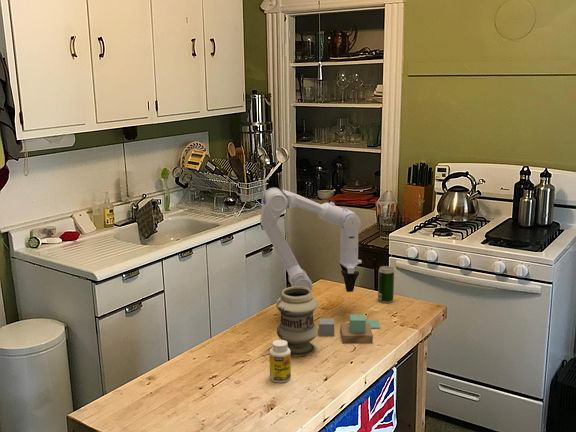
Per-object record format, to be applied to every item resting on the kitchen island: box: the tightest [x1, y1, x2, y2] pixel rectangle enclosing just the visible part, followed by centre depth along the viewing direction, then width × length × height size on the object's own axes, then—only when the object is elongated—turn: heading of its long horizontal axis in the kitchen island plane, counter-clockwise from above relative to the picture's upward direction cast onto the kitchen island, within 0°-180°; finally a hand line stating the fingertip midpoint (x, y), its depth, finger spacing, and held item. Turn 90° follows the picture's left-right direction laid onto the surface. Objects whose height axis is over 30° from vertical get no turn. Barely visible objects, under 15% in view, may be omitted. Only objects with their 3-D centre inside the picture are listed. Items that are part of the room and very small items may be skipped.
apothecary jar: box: [275, 286, 319, 357], centre depth 180 cm, size 12×12×18 cm
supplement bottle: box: [269, 339, 292, 383], centre depth 163 cm, size 6×6×10 cm
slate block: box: [318, 317, 335, 337], centre depth 192 cm, size 4×4×4 cm
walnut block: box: [339, 322, 374, 344], centre depth 189 cm, size 9×9×3 cm
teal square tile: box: [365, 319, 381, 330], centre depth 198 cm, size 6×6×1 cm
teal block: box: [349, 314, 367, 333], centre depth 188 cm, size 4×4×4 cm
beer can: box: [377, 265, 395, 304], centre depth 217 cm, size 5×5×12 cm
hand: (348, 287), depth 204 cm, fingers open, 7 cm apart
